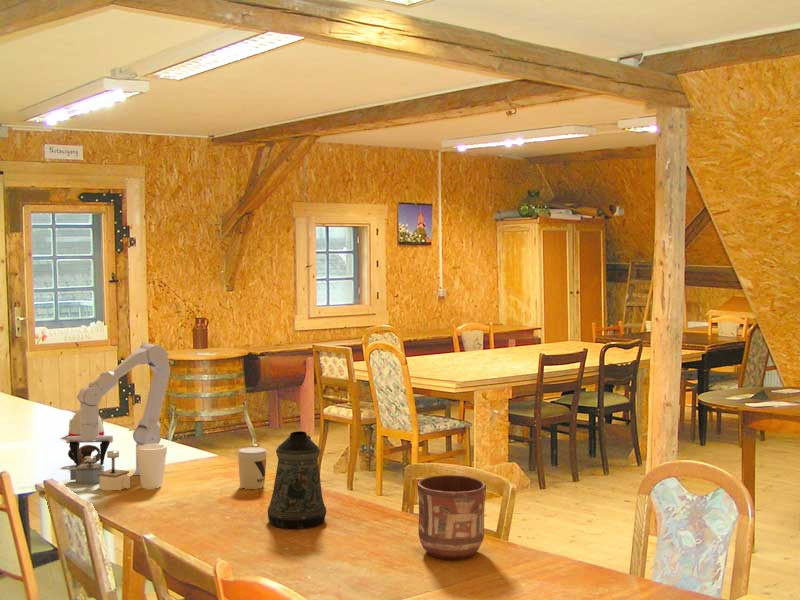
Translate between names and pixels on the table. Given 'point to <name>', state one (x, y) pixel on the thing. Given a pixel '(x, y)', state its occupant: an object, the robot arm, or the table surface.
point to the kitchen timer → (75, 425)
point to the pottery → (451, 515)
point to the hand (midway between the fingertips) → (89, 464)
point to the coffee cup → (252, 467)
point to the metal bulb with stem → (89, 460)
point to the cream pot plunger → (113, 458)
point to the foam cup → (151, 464)
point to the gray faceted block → (86, 473)
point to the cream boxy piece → (114, 480)
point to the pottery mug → (85, 453)
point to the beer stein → (297, 485)
